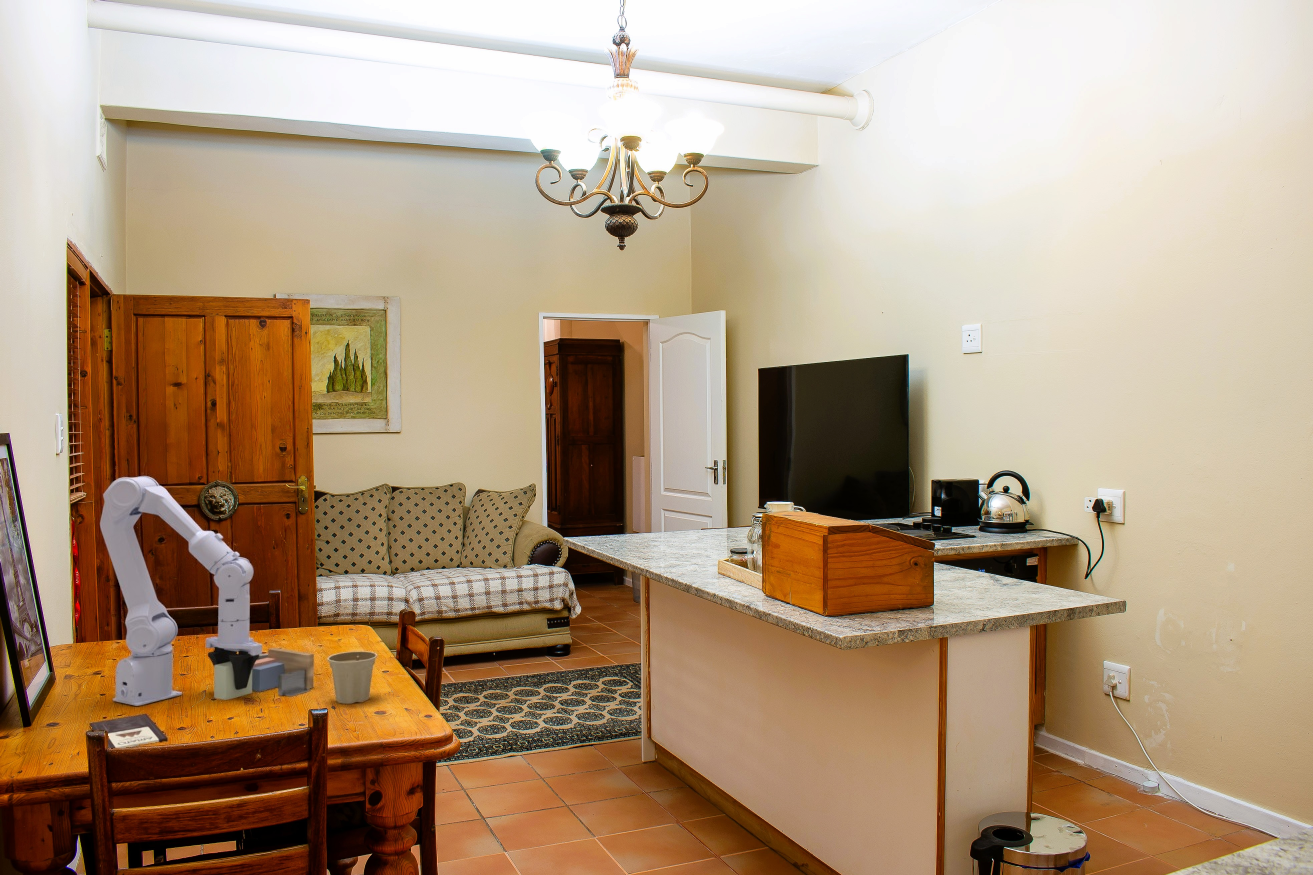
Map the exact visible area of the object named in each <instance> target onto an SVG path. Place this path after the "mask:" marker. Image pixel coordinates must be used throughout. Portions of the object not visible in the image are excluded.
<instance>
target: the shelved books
mask: <svg viewBox="0 0 1313 875" xmlns="http://www.w3.org/2000/svg"><path fill="white" fill-rule="evenodd" d="M282 674H284V663H278V662H276V659H274V658H264V659H260V660H256V662H255V664H254V666H253V668H252V692H253V691H255V692H259V693H261V692H264V691H268V690H272V689H275V688H278V675H282Z"/></svg>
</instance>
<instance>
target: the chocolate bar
mask: <svg viewBox="0 0 1313 875" xmlns="http://www.w3.org/2000/svg"><path fill="white" fill-rule="evenodd" d="M89 725H90V726H91V727H92V729H91V730H106V731H107V732H108V736H109V740H108V748H111V749H113V748H126V747H133V748H137V747H136V746H138V747H142V746H145V745H140V746H139V744H148V743H155V742H160V743H163V742H162V741H166V742H168V741H169V738H168V736H167V735H166V734H165V733H164V732H163V731H162V729H160V727H159V726H158V724H156V723H155V721H153V719H151V717H150V716H149V715H148V714H147V713H142V714H136V715H135V714H134V715H130V716H124V717H117V718H111V719H107V720H100V721H93V722H89ZM90 726H89V727H90ZM155 744H156V743H155Z"/></svg>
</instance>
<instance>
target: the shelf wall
mask: <svg viewBox="0 0 1313 875" xmlns="http://www.w3.org/2000/svg"><path fill="white" fill-rule="evenodd" d="M267 651H268V652H267V654H268V658H274V659H276V662H278V663H284V674H286V673H289V672H293V671H297V670H301V669H305V670H306V689H310V688H311V689H313V688H314V677H315V676H314V675H315V674H314V672H315V671H314V669H315V668H314V664H315V663H314V661H315V658H314V655H315V654H314V653H311V652H305V651H299V650H298V651H297V650H291V649H283V648H277V647H272V648H268V650H267Z"/></svg>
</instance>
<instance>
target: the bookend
mask: <svg viewBox="0 0 1313 875" xmlns="http://www.w3.org/2000/svg"><path fill="white" fill-rule="evenodd" d="M277 688H278V689H277V691H278V692H277V694H278V696H281V697H282V696H287V697H290V698H292V697H295V696H297V695H301V694H305V693H309V692H311V691H312V688H311V689H306V670H305V669H301V670H297V671H293V672H289V673H286V674H282V675H278V687H277ZM308 691H309V692H308Z"/></svg>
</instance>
